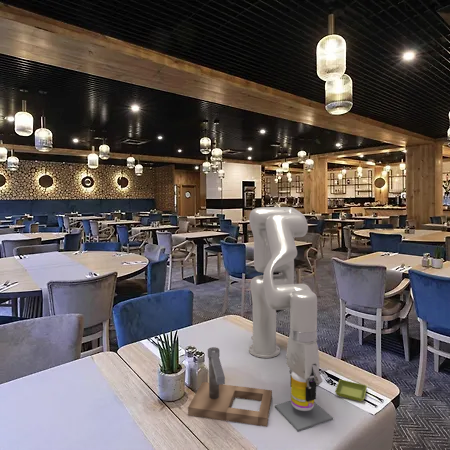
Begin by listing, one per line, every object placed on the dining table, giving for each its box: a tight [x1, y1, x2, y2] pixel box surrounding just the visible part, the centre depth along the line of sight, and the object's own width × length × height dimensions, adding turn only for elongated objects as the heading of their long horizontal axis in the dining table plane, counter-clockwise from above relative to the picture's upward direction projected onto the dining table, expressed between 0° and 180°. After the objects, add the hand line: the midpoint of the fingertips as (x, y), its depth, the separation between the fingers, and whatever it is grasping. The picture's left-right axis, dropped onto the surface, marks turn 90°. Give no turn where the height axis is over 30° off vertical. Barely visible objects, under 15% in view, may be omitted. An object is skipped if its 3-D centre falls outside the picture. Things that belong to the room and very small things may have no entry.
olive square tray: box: [334, 379, 368, 403], centre depth 110 cm, size 9×9×2 cm
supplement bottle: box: [290, 370, 315, 411], centre depth 100 cm, size 7×7×13 cm
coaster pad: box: [274, 400, 334, 432], centre depth 101 cm, size 12×12×1 cm
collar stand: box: [187, 358, 273, 427], centre depth 104 cm, size 23×14×15 cm, turn 76°
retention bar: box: [207, 346, 226, 385], centre depth 97 cm, size 18×4×2 cm, turn 9°
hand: (302, 392), depth 100 cm, fingers closed on supplement bottle, 6 cm apart
